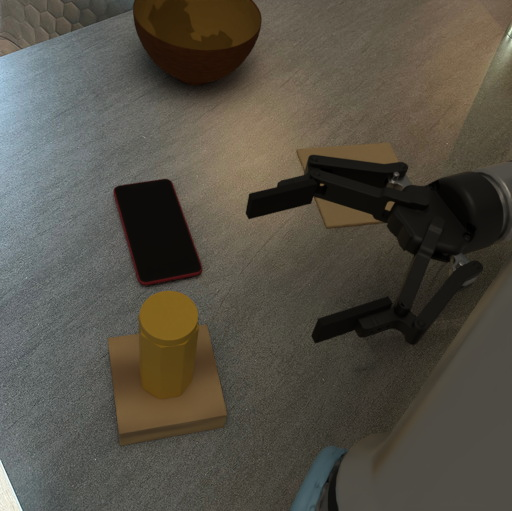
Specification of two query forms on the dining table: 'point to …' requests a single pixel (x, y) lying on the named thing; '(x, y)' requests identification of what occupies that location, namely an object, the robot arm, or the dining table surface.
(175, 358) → the jar
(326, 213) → the mat
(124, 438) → the stand
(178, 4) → the bowl
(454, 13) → the dining table surface
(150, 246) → the smartphone
